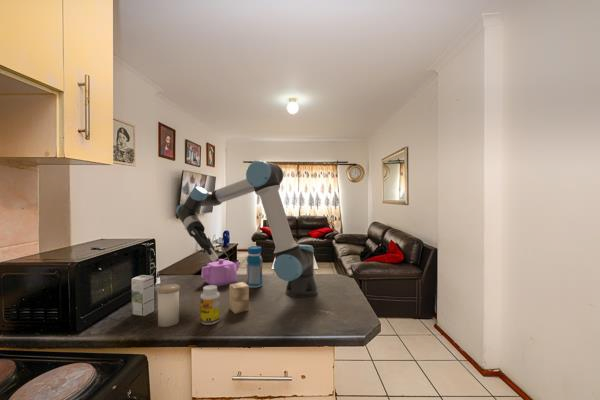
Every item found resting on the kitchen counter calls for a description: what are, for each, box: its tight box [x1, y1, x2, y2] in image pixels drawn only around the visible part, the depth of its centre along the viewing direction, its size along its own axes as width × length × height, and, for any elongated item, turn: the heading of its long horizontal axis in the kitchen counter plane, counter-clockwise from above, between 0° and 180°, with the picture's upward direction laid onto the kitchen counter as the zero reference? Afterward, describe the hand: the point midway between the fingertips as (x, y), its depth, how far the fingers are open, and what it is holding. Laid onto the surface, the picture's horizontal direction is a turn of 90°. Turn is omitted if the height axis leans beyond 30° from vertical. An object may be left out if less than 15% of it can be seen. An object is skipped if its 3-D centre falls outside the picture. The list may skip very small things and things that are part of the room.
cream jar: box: [156, 283, 180, 328], centre depth 101 cm, size 7×7×13 cm
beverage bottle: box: [245, 245, 264, 289], centre depth 144 cm, size 8×8×20 cm
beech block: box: [228, 281, 250, 314], centre depth 114 cm, size 6×6×10 cm
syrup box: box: [131, 274, 155, 317], centre depth 109 cm, size 6×6×14 cm
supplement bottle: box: [199, 284, 221, 326], centre depth 102 cm, size 7×7×13 cm
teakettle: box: [200, 258, 241, 287], centre depth 149 cm, size 17×17×12 cm
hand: (215, 259), depth 121 cm, fingers closed
